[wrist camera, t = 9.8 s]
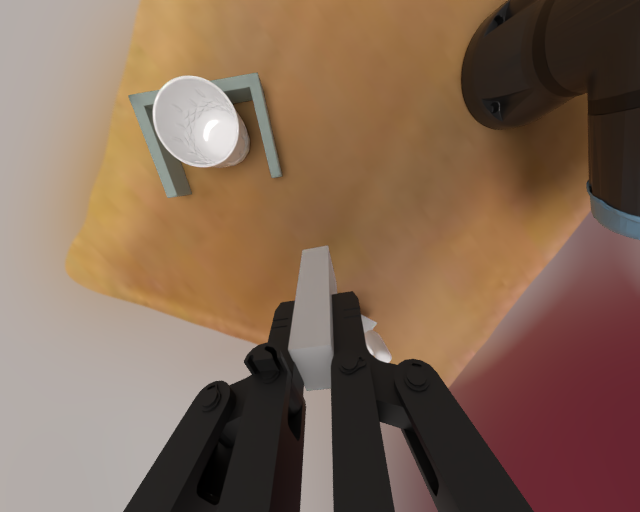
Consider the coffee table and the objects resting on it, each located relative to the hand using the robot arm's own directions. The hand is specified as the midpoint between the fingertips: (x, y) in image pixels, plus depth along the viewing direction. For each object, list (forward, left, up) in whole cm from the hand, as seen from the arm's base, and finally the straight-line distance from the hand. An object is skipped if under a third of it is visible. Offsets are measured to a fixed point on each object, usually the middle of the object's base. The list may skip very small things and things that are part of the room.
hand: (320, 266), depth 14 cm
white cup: (+9, -12, -24) cm, 28 cm away
